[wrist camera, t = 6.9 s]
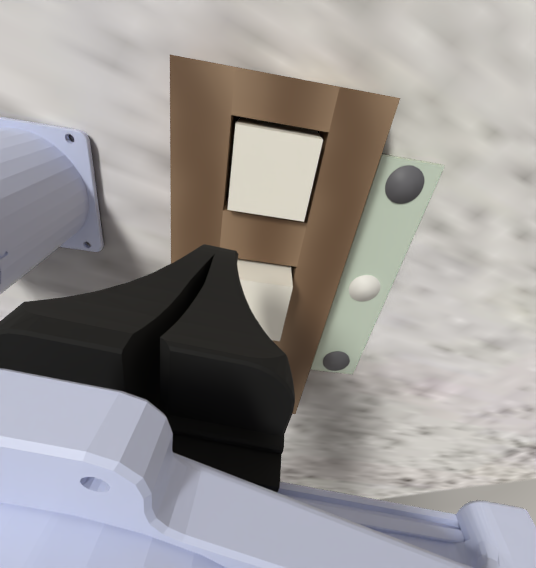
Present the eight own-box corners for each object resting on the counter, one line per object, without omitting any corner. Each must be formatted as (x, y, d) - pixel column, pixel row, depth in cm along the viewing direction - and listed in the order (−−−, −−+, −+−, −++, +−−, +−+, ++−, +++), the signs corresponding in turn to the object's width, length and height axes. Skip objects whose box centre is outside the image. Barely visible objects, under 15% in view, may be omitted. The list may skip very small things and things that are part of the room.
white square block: (233, 192, 21) (227, 209, 18) (241, 116, 18) (235, 124, 16) (299, 202, 21) (304, 221, 18) (315, 130, 19) (323, 139, 16)
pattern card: (310, 367, 30) (310, 370, 30) (380, 153, 20) (382, 155, 19) (351, 372, 30) (352, 375, 30) (442, 164, 20) (445, 166, 20)
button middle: (220, 303, 24) (214, 332, 21) (225, 251, 22) (219, 276, 19) (278, 311, 24) (279, 341, 22) (290, 260, 22) (292, 287, 19)
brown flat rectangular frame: (180, 373, 31) (172, 400, 28) (184, 57, 17) (169, 54, 15) (293, 387, 32) (295, 414, 29) (382, 95, 18) (399, 98, 16)
